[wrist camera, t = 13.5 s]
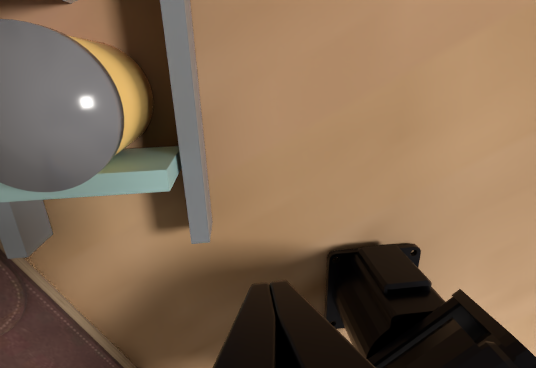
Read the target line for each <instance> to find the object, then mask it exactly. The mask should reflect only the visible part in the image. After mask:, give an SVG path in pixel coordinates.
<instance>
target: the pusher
mask: <svg viewBox="0 0 536 368" xmlns="http://www.w3.org/2000/svg"><path fill="white" fill-rule="evenodd" d="M181 168H182V166H181V158H180V151H179V146H170V147H151V148H132V149H123V150H121V151H120V152H119V153H117V154H116V155H115V156H114V157H113V159H112V160H111V161H110V163H109V164H108V165H107V166H106V167H105V168H104V169H102V170H101V171H100V172H98V173H97V174H96V175H95V176H93V177H92V178H91V179H90V180H88V181H86V182H84V183H83V184H81V185H78V186H76V187H74V188H71V189H67V190H63V191H57V192H32V191H26V190H21V189H17V188H14V187H10V186H7V185H5V184H2V183H0V202H14V201H29V200H45V199H60V198H75V197H90V196H105V195H121V194H136V193H151V192H166V191H170V190H171V188H172V186H173V184H174V182H175V180H176V178H177V176H178V174H179V172H180V170H181Z"/></svg>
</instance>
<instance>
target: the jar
mask: <svg viewBox="0 0 536 368" xmlns="http://www.w3.org/2000/svg"><path fill="white" fill-rule="evenodd" d="M152 113H153V94H152V90H151V87H150V84H149V81H148V79H147V77H146V75H145V74H144V72H143V71H142V69H141V68H140V67H139V65H138V64H137V63H136V62H135V61H134V60H133V59H132V58H131V57H130V56H128V55H127V54H126V53H124V52H123V51H121V50H119V49H118V48H115V47H113V46H111V45H108V44H105V43H101V42H96V41H91V40H86V39H81V38H76V37H72V36H67V35H65V34H63V33H61V32H58V31H56V30H54V29H51V28H48V27H44V26H41V25H37V24H33V23H28V22H23V21H17V20H8V19H0V183H2V184H5V185H7V186H10V187H14V188H17V189H21V190H26V191H32V192H57V191H63V190H67V189H71V188H74V187H76V186H78V185H81V184H83V183H84V182H86V181H88V180H90V179H91V178H92V177H93V176H95V175H96V174H97V173H98V172H100V171H101V170H102V169H104V168H105V167H106V166H107V165H108V164H109V163H110V161H111V160H112V159H113V157H114V156H115V155H116V154H117V153H119V152H120V151H121V150H123V149H124V148H125V147H127V146H128V145H129V144H131V143H132V142H133V141H135V140H136V139H137V138H139V137H140V136H141V135H142V134H143V133H144V131H145V130H146V128H147V127H148V125H149V123H150V120H151V117H152Z"/></svg>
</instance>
